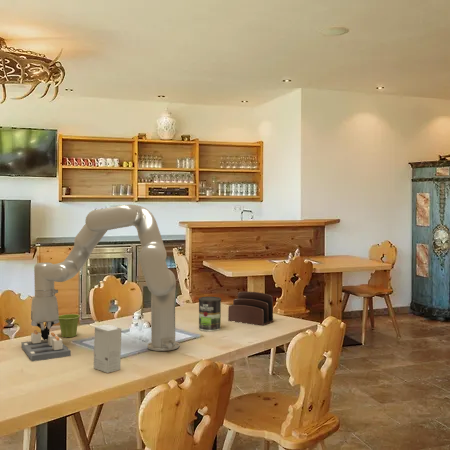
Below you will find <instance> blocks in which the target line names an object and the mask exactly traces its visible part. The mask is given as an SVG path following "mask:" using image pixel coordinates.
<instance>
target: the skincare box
mask: <svg viewBox="0 0 450 450" xmlns="http://www.w3.org/2000/svg"><path fill="white" fill-rule="evenodd" d="M93 338H94V339H93V340H94V343H93V344H94V345H93V369H95V370H98V371H101V372H103V373H106V374H107V373H108V374H109V373H112V372H116V371H119V370H120V371H121V359H122V352H121V351H122V328H120V327H118V326H116V325H111V324H102V325H101V324H100V325H96V326H94V337H93Z"/></svg>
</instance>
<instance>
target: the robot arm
mask: <svg viewBox="0 0 450 450" xmlns="http://www.w3.org/2000/svg"><path fill="white" fill-rule="evenodd" d="M132 226H133V227H135V229H136V231H137V236H138V239H139V242H140V246H141V250H140V252H139V255H138V256H139V264H140V267H141V271H142V273H143V277H144V280H145V284H146V287H147V289H148V291H149V292H150V293H151V298H150V300H151V301H150V303H151V304H150V306H151V307H150V311H151V312H150V323H151V324H150V326H151V327H150V328H151V329H150V330H151V332H150V336H151V341H150V342H149V343H148V344H147V349H149V350H150V351H154V352H168V351H169V352H170V351H174V350H177V349H179V348H180V343H179V342H178V341H176V291H177V290H176V286H177V279H176V275H175V273H174V272H173V271H172V270H171V269H169V268H168V265H167V260H166V259H167V257H168V256H167V254H168V253H167V251H166V247H165V245H164V244H165V243H164V241H163V238H162V235H161V232H160V229H159V226H158V223H157V220H156V218H155V216H154V215H153V213H152V212H151V211H150V210H149V209H147V208H146V207H143V206H141V205H137V204H123V205H117V206H111V207H106V208H100V209H98V208H97V209H94V210H91V211H90V212H88V214H87V215H86V217H85V224H84V225H83V226H82V228H81V229H80V230H79V232H78V233H77V234H76V236H75V237H74V244H73V247H72V250H71V251H70V252H69V254H68V255H67V256H66V258H65V259H64V260H63V261H61V262H58V263H52V262H37V263H36V264H35V265H34V270H33V271H34V273H33V274H34V277H33V278H34V279H33V280H34V296H33V297H32V299H31V305H30V306H31V308H30V319H31V322H30V325H31V326H32V327H38V328H39V329H40V334H41V338H42V340H45V339H48V335H51V332H50V329H51V328H52V327H53V326H54V325H56V324H60V323H59V319H58V318H59V316H60V315H59V313H60V312H59V305H58V297H57V296H56V294H58V293H59V290H58V289H55V282H56V283H63V282H64V283H65V282H66V281H69V280H70V279H73V278H74V277H75V276H77V274H78V273H79V272H80V271H81V270H82V268H83V267H84V265H85V264H86V263H87V261H88V259H89V258H90V256H91V255H92V252H93V251H94V249H95V248H96V247H97V245H98V244H99V242H100V241H101V240H102V238H103V237H104V236H105V234H106V233H107V232H108V231H112V230H115V229H116V230H117V229H122V228H128V227H132ZM45 323H46V324H45Z"/></svg>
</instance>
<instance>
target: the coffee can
mask: <svg viewBox="0 0 450 450" xmlns="http://www.w3.org/2000/svg"><path fill="white" fill-rule="evenodd" d="M221 322H222V298H221V297H218V296H202V297H198V330H199V331H201V332H217V331H220V330H221V329H222V327H221V326H222V323H221Z"/></svg>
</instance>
